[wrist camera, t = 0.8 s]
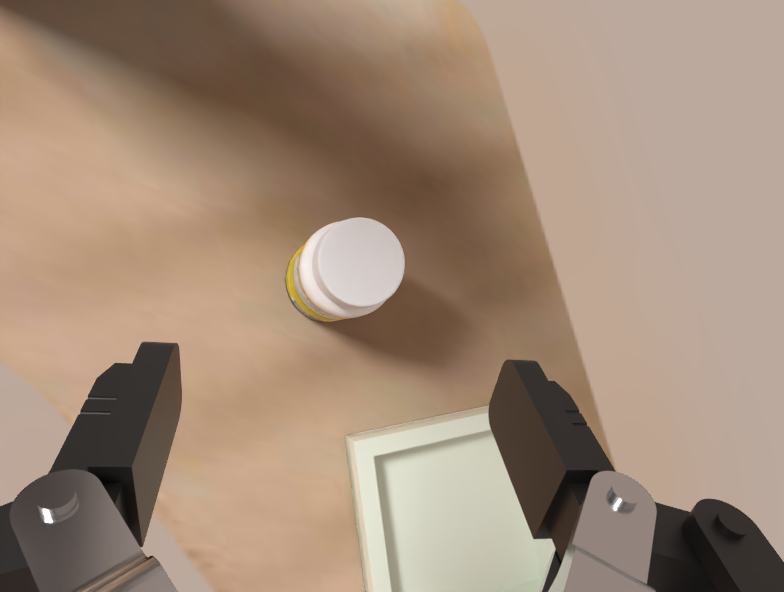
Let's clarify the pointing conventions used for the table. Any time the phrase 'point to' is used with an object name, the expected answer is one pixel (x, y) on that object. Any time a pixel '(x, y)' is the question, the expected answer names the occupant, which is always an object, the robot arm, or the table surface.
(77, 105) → the table surface
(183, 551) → the table surface
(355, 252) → the supplement bottle
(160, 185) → the table surface
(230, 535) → the table surface
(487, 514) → the tray
